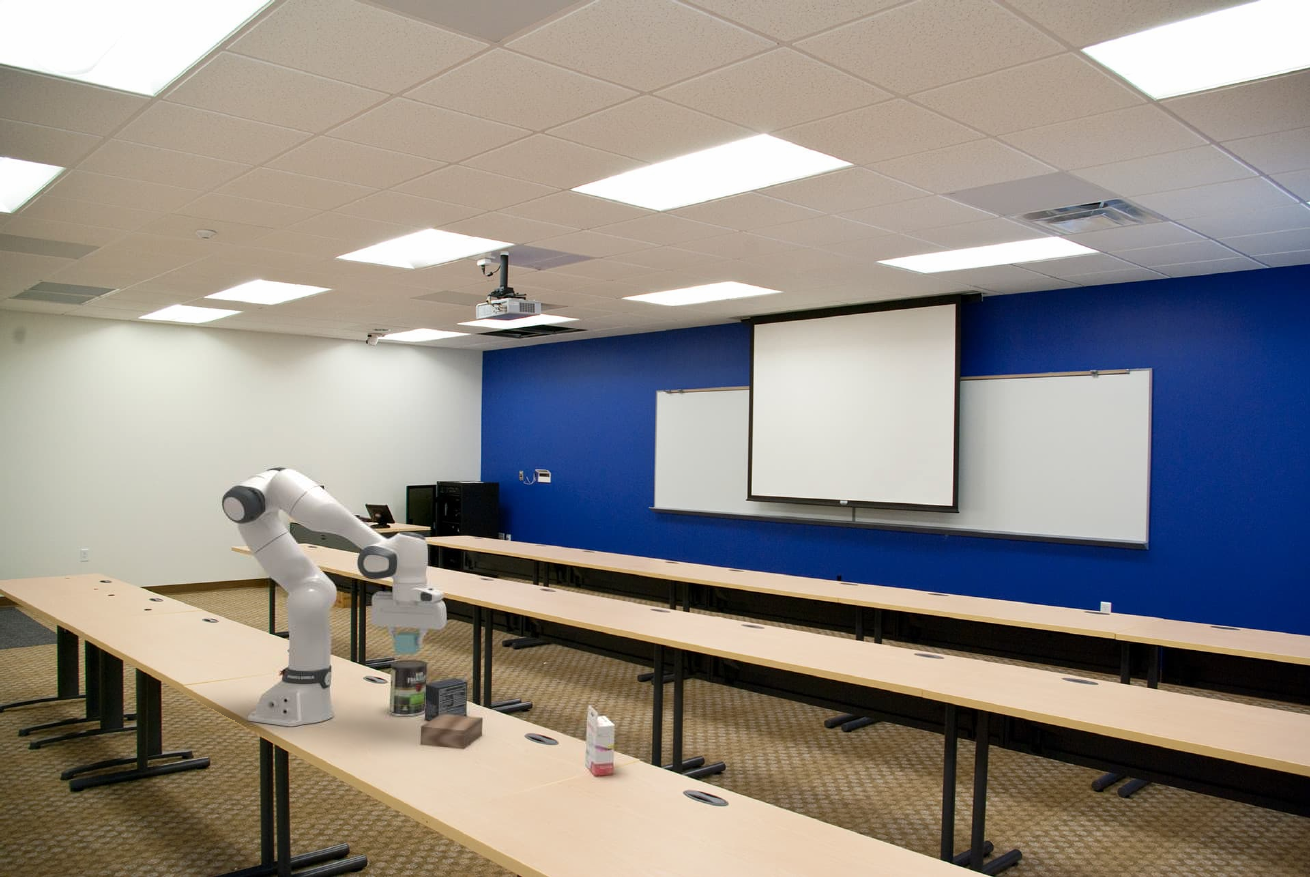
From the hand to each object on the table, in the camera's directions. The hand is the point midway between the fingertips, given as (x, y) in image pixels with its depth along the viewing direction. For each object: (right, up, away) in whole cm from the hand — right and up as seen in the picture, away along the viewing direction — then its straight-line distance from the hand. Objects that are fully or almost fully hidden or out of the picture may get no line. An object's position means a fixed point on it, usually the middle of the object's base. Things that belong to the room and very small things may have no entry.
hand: (407, 644), depth 229 cm
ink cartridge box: (+53, -25, -22) cm, 63 cm away
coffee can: (-6, -25, +21) cm, 33 cm away
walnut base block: (+13, -25, -3) cm, 28 cm away
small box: (+6, -25, +16) cm, 30 cm away
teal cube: (0, -2, 0) cm, 2 cm away
